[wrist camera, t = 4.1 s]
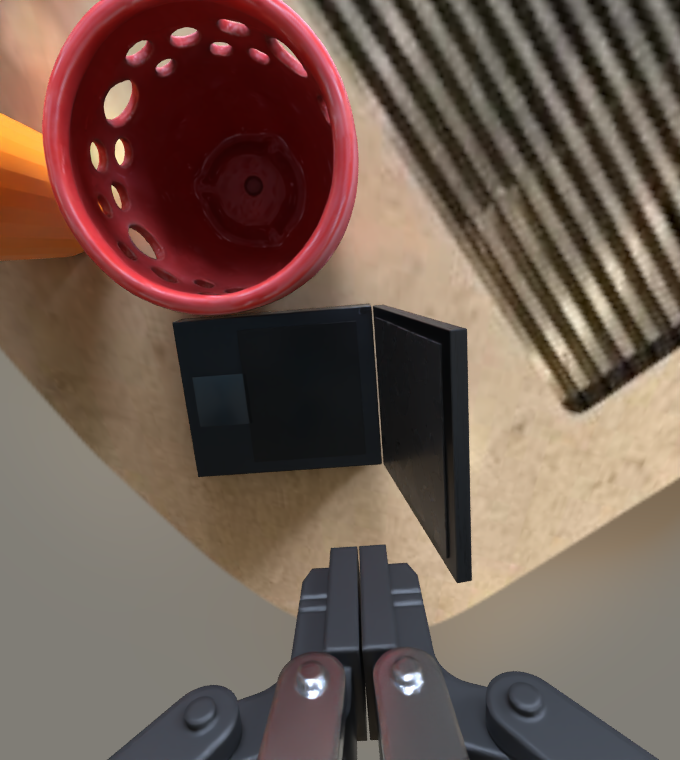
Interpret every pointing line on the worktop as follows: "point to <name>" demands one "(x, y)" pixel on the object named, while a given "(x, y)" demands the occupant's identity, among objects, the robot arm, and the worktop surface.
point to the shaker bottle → (29, 199)
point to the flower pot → (202, 150)
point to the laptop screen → (427, 426)
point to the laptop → (281, 390)
